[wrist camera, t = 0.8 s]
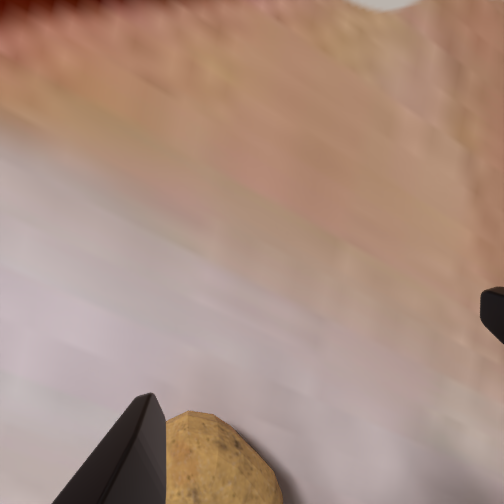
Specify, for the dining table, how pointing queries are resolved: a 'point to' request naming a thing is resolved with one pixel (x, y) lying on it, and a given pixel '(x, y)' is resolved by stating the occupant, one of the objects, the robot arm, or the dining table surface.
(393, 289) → the dining table surface
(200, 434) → the potato
